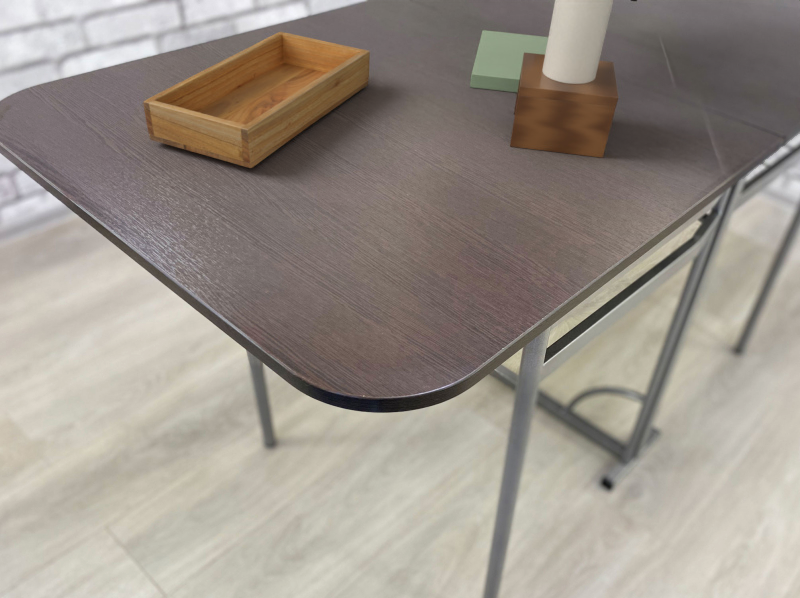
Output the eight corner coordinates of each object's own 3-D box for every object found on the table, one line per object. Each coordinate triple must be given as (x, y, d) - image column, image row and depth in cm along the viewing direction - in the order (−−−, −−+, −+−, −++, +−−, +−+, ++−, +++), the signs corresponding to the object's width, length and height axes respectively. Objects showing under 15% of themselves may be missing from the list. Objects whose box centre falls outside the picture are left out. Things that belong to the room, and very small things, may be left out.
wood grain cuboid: (599, 119, 101) (613, 61, 96) (602, 157, 92) (618, 97, 87) (514, 109, 103) (523, 52, 97) (509, 146, 94) (519, 86, 88)
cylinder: (594, 66, 94) (626, -71, 84) (596, 86, 89) (630, -57, 79) (542, 61, 95) (568, -77, 84) (541, 80, 90) (568, -63, 79)
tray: (281, 66, 110) (279, 27, 107) (369, 87, 106) (370, 47, 102) (149, 145, 90) (141, 100, 86) (251, 175, 85) (247, 130, 81)
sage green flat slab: (575, 52, 121) (578, 40, 119) (577, 99, 106) (580, 86, 105) (481, 42, 122) (482, 30, 121) (469, 87, 108) (471, 74, 106)
